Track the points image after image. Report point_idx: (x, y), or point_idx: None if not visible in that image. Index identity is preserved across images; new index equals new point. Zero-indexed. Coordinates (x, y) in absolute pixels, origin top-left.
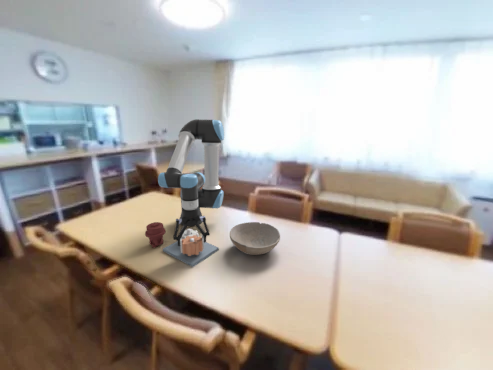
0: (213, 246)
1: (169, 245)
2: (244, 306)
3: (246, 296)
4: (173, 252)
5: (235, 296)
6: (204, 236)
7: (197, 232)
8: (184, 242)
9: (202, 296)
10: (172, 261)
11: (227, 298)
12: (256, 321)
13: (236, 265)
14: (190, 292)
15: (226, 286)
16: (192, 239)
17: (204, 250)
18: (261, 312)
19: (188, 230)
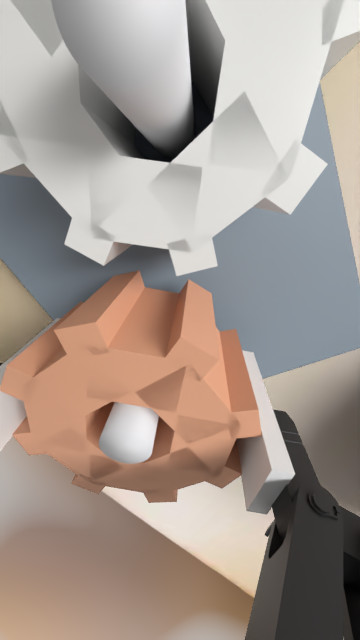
0: (347, 314)
1: None
2: (229, 555)
3: (253, 545)
4: (17, 257)
5: (227, 537)
6: (280, 535)
7: (346, 49)
8: (41, 437)
9: (142, 509)
10: (34, 319)
11: (204, 533)
12: (229, 574)
13: (330, 467)
14: (111, 490)
15: (224, 512)
16: (131, 453)
17: (252, 334)
18: (253, 570)
19: (105, 89)
